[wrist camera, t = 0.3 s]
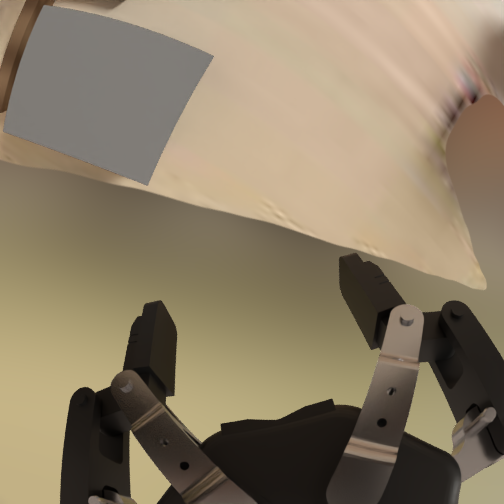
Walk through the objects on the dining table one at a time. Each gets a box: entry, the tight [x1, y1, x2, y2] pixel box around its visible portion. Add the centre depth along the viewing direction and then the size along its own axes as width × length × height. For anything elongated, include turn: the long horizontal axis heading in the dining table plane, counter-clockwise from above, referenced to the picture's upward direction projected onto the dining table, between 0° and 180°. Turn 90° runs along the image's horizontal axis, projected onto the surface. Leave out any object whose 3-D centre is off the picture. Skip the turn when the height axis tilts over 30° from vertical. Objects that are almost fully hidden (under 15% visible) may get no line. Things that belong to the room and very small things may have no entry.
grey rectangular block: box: [3, 5, 214, 186], centre depth 21 cm, size 12×16×10 cm
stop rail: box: [0, 0, 54, 113], centre depth 17 cm, size 14×2×4 cm, turn 150°
